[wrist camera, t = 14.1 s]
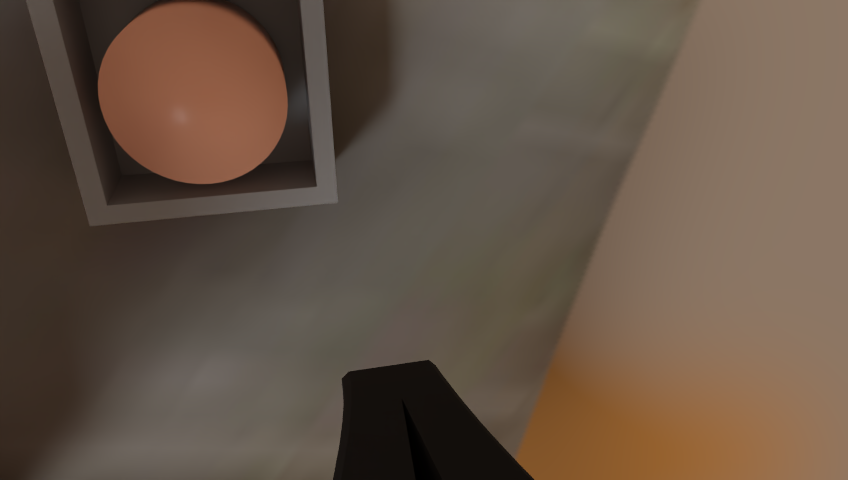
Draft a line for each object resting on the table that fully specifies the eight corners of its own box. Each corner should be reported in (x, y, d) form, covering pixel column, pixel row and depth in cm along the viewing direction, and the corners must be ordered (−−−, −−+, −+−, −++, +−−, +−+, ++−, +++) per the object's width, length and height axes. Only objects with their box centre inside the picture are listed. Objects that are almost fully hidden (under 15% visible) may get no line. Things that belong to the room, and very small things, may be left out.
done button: (292, 148, 17) (295, 176, 16) (135, 160, 17) (121, 191, 15) (275, -9, 16) (277, 3, 14) (97, -4, 15) (76, 10, 13)
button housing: (329, 167, 19) (338, 202, 17) (110, 185, 18) (89, 226, 16) (311, -58, 16) (319, -50, 14) (49, -53, 15) (13, -44, 13)
